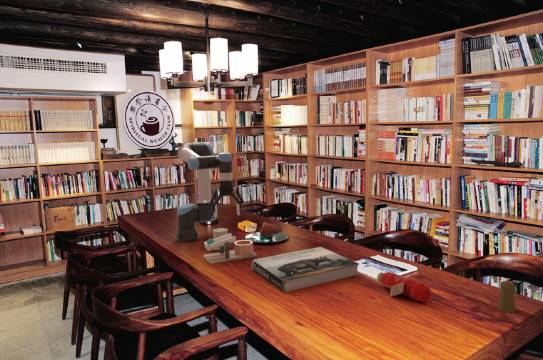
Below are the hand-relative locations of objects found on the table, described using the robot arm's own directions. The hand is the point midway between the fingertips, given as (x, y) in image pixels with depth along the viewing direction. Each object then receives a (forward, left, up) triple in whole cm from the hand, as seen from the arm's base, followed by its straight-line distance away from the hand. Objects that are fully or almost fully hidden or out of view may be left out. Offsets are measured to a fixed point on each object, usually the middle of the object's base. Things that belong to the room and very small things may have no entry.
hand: (227, 216), depth 230 cm
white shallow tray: (+2, -6, -15) cm, 16 cm away
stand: (+5, -1, -23) cm, 23 cm away
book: (+48, +24, -23) cm, 58 cm away
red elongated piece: (+90, +48, -23) cm, 104 cm away
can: (-13, -1, -23) cm, 27 cm away
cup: (+6, +8, -21) cm, 23 cm away
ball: (+6, -12, -13) cm, 18 cm away
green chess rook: (+120, +74, -23) cm, 143 cm away
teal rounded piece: (-18, +32, -23) cm, 44 cm away
